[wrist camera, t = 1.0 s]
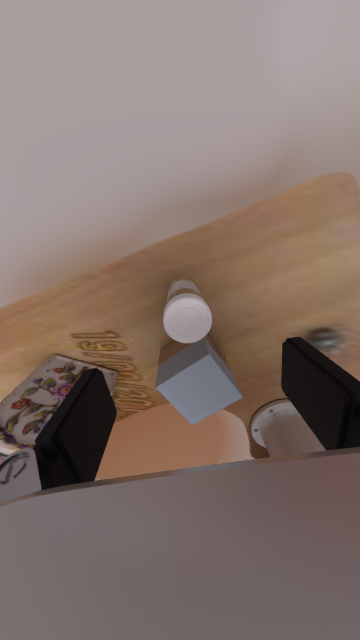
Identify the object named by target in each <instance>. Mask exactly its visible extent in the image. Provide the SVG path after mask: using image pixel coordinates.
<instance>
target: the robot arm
mask: <svg viewBox="0 0 360 640" xmlns="http://www.w3.org/2000/svg"><path fill="white" fill-rule="evenodd" d="M281 386H282V390H283V392H284V393H285V395H286V396H287V398H288V399H283V400H277V401H274V402H271V403H269V404H267V405H265V406H264V407H262V408H261V409H260V410H259V411H258V412H257V413H256V414H255V415H254V417H253V418H252V421H251V424H250V430H251V434H252V436H253V438H254V440H255V441H256V442H257V443H258V444H259V445H261V446H263V447H265V448H266V449H267V451H268V453H269V456H270V457H268V458H261V459H253V460H245V461H238V462H230V463H222V464H214V465H207V466H200V467H193V468H184V469H178V470H169V471H162V472H155V473H148V474H141V475H134V476H126V477H119V478H112V479H105V480H98V481H94V480H95V477H96V474H97V471H98V468H99V465H100V462H101V459H102V456H103V453H104V451H105V448H106V445H107V442H108V439H109V436H110V433H111V430H112V427H113V424H114V421H115V418H116V414H117V412H116V407H115V405H114V402H113V399H112V396H111V394H110V391H109V388H108V385H107V383H106V380H105V377H104V374H103V372H102V370H99V369H98V368H92V369H86V370H84V372H83V373H82V374H81V376H80V377H79V379H78V380H77V381H76V383H75V384H74V386H73V387H72V388H71V390H70V391H69V393H68V394H67V395H66V397H65V398H64V400H63V401H62V403H61V404H60V405H59V407H58V408H57V410H56V411H55V412H54V414H53V415H52V417H51V418H50V419H49V421H48V422H47V424H46V425H45V426H44V428H43V429H42V431H41V432H40V433H39V435H38V436H37V438H36V439H35V440H34V441H35V443H36V444H35V446H34V447H33V449H31V448H23V449H20V450H17V451H15V452H13V453H11V454H10V455H8V456H7V457H5V458H4V459H2V460H1V461H0V640H360V381H358V380H357V379H356V378H354V377H353V376H352V375H350V374H349V373H348V372H346V371H345V370H344V369H342V368H341V367H340V366H338V365H337V364H336V363H334V362H333V361H332V360H330V359H329V358H328V357H326V356H325V355H324V354H322V353H321V352H320V351H318V350H317V349H316V348H314V347H313V346H312V345H310V344H309V343H308V342H306V341H305V340H304V339H302V338H301V337H294V338H287V339H286V342H283V345H282V378H281Z"/></svg>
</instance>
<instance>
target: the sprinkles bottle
mask: <svg viewBox="0 0 360 640" xmlns="http://www.w3.org/2000/svg"><path fill="white" fill-rule="evenodd" d="M163 325H164V328H165V331H166V332H167V334H168V335H169V336H170V337H171V338H172V339H174V340H176V341H178V342H181V343H193V342H197V341H199V340H201V339H202V338H203V337H205V336H206V334H207V333H208V332H209V330H210V328H211V325H212V314H211V311H210V309H209V307H208V305H207V303H206V302H205V301H204V300H203V298H202V296H201V294H200V292H199V290H198V288H197V285H196V284H195V282H194V281H193V280H192V279H191V278H189V277H185V276H181V277H177V278H175V279H174V280H173V281H172V282H171V283H170V285H169V288H168V296H167V302H166V307H165V309H164V314H163Z"/></svg>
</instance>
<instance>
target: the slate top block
mask: <svg viewBox="0 0 360 640" xmlns="http://www.w3.org/2000/svg"><path fill="white" fill-rule="evenodd" d="M156 389H157V390H158V391H159V392H160V393H161V394H162V395H163V396H164V397H165V398H166V399H167V400H168V401H169V402H170V403H171V404H172V405H173V406H174V407H175V408H176V409H177V410H178V411H179V412H180V413H181V414H182V416H183V417H185V419H186V420H187V421H188V422H189V423H190V424H191V425H194V424H196V423H198V422H200V421H201V420H203V419H205V418H207V417H208V416H210V415H212V414H214V413H216V412H217V411H219V410H221V409H223V408H225V407H226V406H228V405H230V404H232V403H234V402H235V401H237V400H239V399H241V398H243V396H242V394H241V392H240V390H239V387H238V385H237V383H236V380H235V378H234V376H233V374H232V372H231V371H230V370H229V369H228V367H227V366H226V365H225V363H224V362H223V361H222V359H221V358H220V357H219V355H218V354H217V353H216V352H215V350H214V349H213V348H212V346H211V345H210V344H209V342H208V341H207V340H206V339H205V337H203V338H202V339H201V340H199V341H197V342H193V343H192V344H190V345H189V346H187V347H185V348H184V349H182V350H181V351H179V352H178V353H176V354H175V355H173V356H172V357H170V358H169V359H167V360H166V361H164V362H163V363H161V364H160V365H159V367H158V374H157V381H156Z"/></svg>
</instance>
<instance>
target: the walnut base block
mask: <svg viewBox="0 0 360 640" xmlns="http://www.w3.org/2000/svg"><path fill="white" fill-rule="evenodd" d="M205 339H206V340H207V341H208V342H209V344H210V345H211V346H212V348H213V349H214V350H215V352H216V353H217V354H218V355H219V357H220V358H221V359H222V361H223V362H224V363H225V365H226V366H227V367H228V369H229V370H230V371H231V369H230V367H229V365H228V362H227V360H226V358H225V356H224V355H223V354H222V352H221V351H220V350H219V348H218V347H217V346H216V344H215V343H214V342H213V340H212V339H211V338H210V337H209V335H208V334H206V336H205ZM190 344H192V343H181V342H178V341H176V340H174V341H172V342H171V343H169V344H168V345H166V346H165V347H163V348H162V349H161V351H160V359H159V365H160V364H161V363H163V362H164V361H166V360H167V359H169V358H170V357H172V356H173V355H175V354H176V353H178V352H179V351H181V350H182V349H184V348H185V347H187V346H189V345H190Z"/></svg>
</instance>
